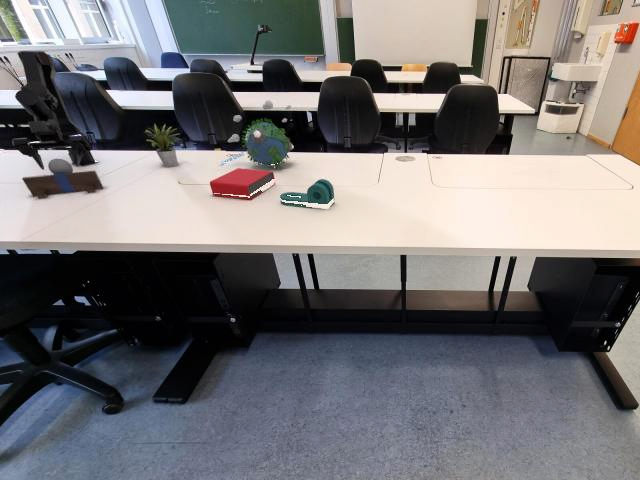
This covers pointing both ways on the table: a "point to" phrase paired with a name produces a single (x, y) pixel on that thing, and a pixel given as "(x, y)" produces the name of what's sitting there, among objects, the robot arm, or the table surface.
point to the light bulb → (60, 166)
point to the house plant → (164, 146)
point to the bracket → (311, 194)
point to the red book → (241, 183)
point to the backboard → (63, 183)
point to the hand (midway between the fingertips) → (60, 167)
